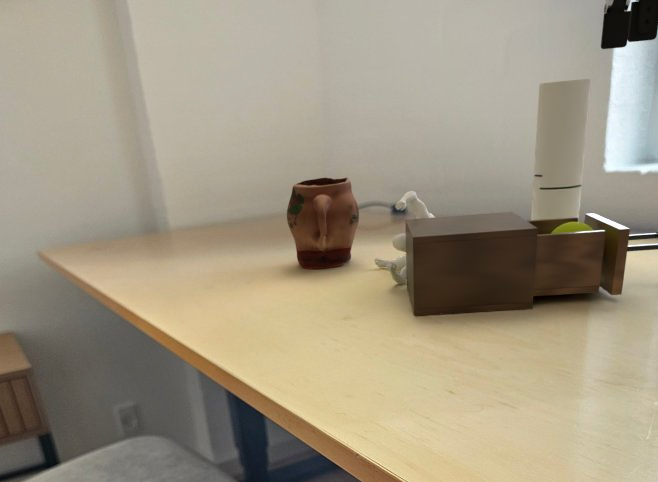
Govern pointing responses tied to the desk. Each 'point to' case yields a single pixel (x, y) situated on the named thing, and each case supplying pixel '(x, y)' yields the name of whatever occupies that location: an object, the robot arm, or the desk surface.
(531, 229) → the cabinet
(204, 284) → the desk surface
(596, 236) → the drawer
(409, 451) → the desk surface
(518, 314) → the desk surface
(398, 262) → the person figurine
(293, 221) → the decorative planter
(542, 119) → the cylindrical container
